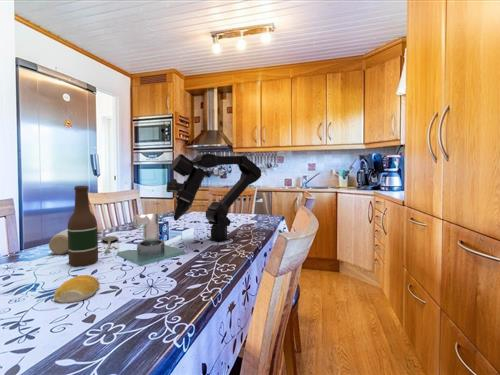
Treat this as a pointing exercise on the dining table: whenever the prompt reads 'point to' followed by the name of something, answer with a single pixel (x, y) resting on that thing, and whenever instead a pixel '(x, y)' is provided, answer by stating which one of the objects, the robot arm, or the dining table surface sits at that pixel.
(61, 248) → the beige cylinder
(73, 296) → the bread roll
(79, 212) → the beer bottle
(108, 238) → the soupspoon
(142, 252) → the duct collar
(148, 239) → the metal bottle
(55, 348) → the dining table surface
